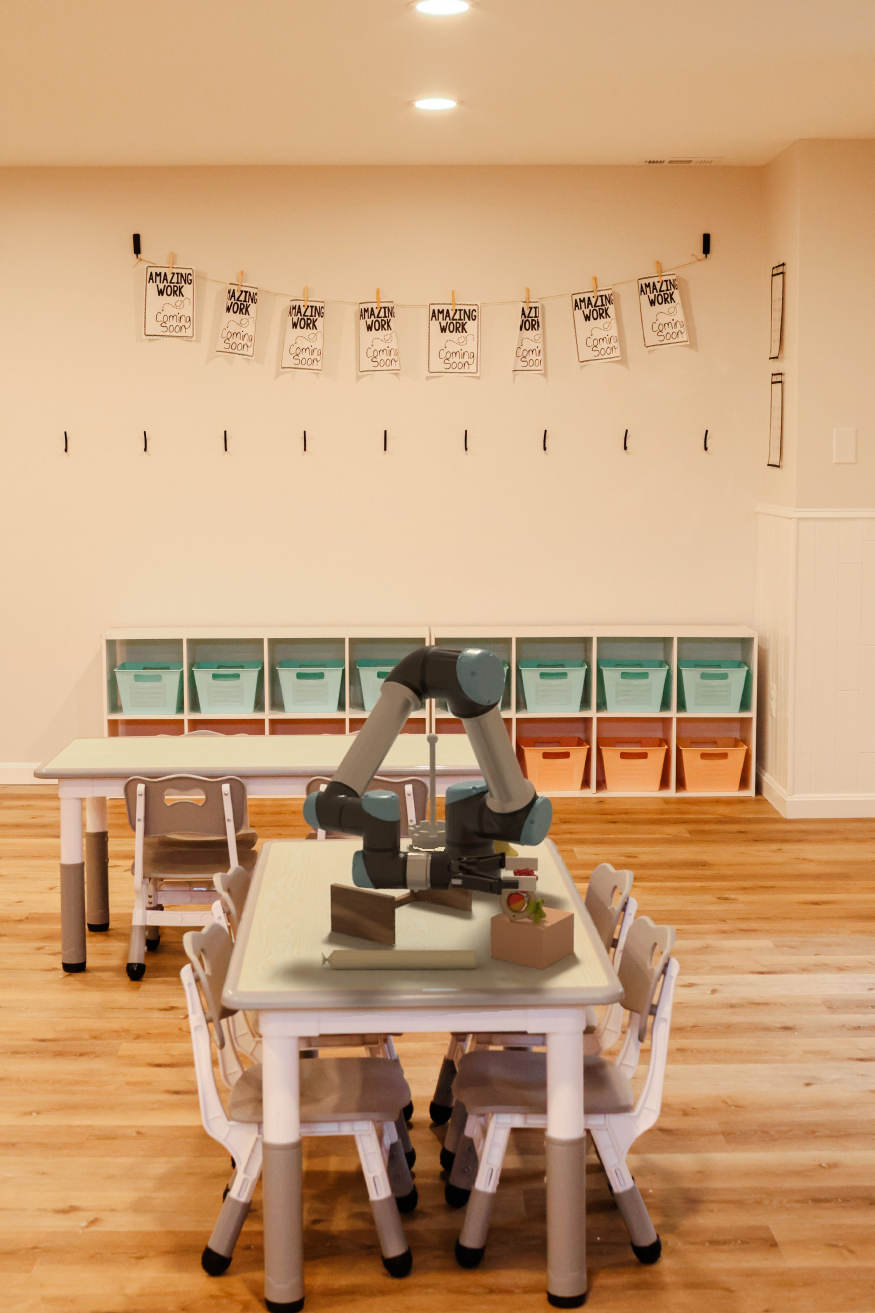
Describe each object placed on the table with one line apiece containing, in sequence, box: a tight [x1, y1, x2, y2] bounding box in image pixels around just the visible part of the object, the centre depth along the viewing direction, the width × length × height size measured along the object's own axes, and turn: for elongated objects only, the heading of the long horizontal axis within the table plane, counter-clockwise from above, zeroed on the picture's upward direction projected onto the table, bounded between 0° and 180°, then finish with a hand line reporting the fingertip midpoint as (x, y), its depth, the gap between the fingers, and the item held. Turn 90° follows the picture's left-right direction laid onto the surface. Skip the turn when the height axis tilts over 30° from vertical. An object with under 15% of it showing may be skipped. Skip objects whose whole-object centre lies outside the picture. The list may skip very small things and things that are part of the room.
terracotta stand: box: [490, 902, 575, 970], centre depth 260 cm, size 12×12×8 cm
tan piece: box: [320, 949, 477, 970], centre depth 253 cm, size 4×30×4 cm, turn 89°
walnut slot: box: [329, 861, 473, 947], centre depth 281 cm, size 29×16×10 cm, turn 144°
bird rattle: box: [499, 868, 546, 922], centre depth 255 cm, size 6×11×9 cm
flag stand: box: [407, 732, 445, 849], centre depth 339 cm, size 13×13×30 cm
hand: (537, 873), depth 258 cm, fingers open, 13 cm apart
